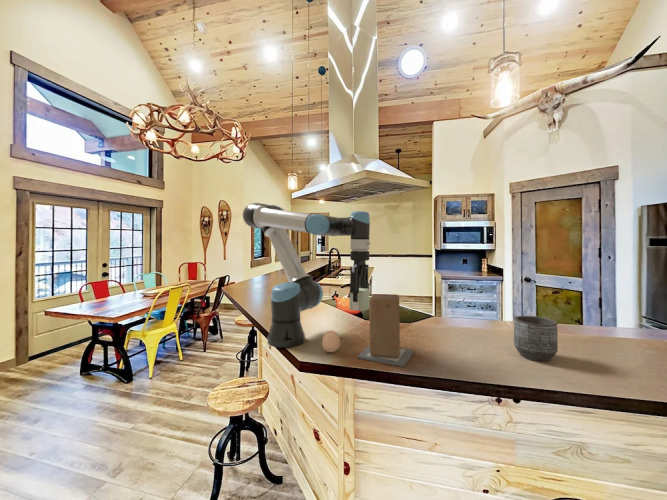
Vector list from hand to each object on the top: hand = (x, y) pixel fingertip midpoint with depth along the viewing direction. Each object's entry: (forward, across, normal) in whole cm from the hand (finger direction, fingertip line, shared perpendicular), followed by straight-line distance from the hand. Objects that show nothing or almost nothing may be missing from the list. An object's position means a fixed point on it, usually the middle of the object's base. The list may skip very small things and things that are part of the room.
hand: (359, 307), depth 113 cm
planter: (+13, +13, -60) cm, 63 cm away
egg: (+14, -14, +5) cm, 21 cm away
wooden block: (+13, -8, -14) cm, 20 cm away
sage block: (0, 0, 0) cm, 0 cm away
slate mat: (+14, -8, -14) cm, 21 cm away
